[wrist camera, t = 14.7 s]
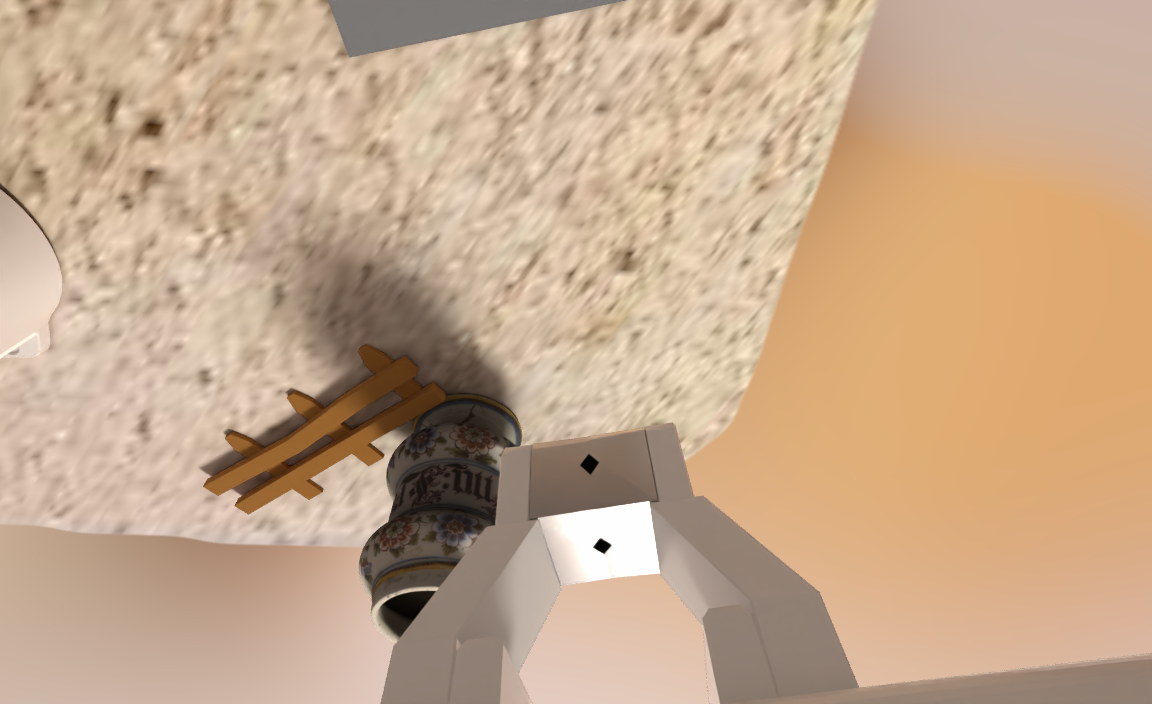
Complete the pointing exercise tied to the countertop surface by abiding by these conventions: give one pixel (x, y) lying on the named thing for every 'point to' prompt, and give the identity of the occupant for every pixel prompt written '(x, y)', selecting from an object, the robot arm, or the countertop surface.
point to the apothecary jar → (435, 505)
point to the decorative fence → (331, 424)
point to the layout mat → (435, 19)
